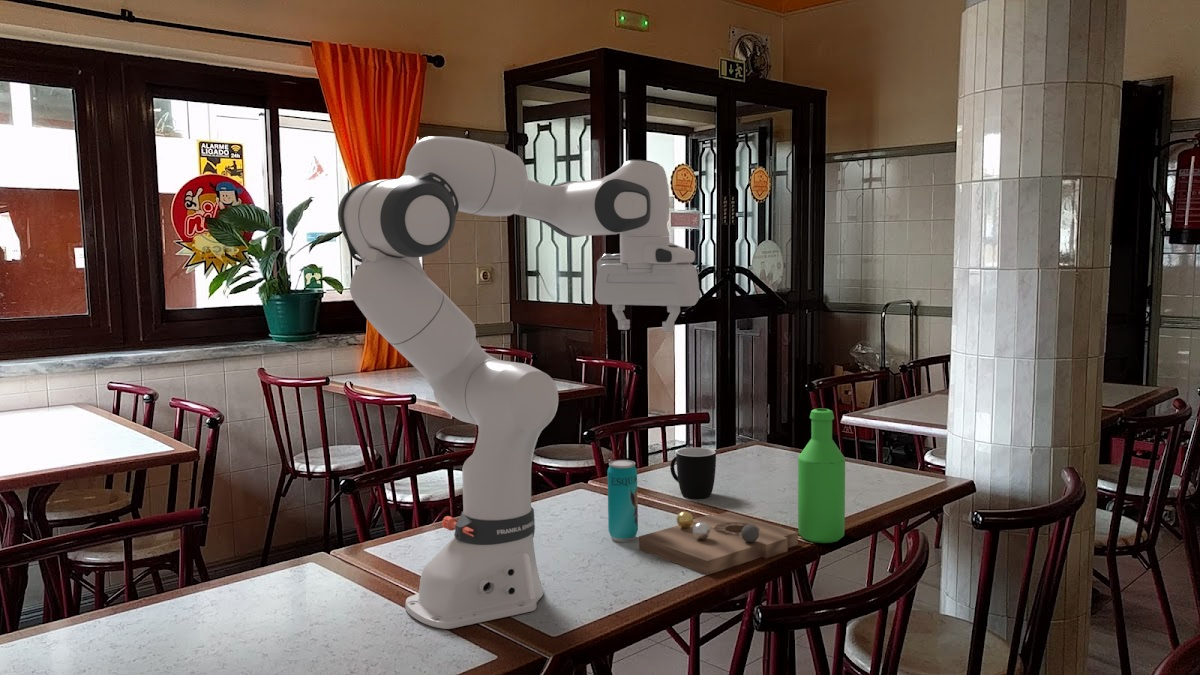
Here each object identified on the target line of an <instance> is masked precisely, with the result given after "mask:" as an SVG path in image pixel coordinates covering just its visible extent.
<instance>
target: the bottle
mask: <svg viewBox="0 0 1200 675" xmlns="http://www.w3.org/2000/svg"><path fill="white" fill-rule="evenodd" d="M809 419H810V420H811V423H810V424H811V431H810V432H811V434H810V435H811V438H810V439H809V441H808V442H807V444H806V445H805V447H804V448H803V450H802V451H801V453H800V454H799V455H798V458H797V459H798V460H797V462H798V464H797V465H798V470H797V472H798V473H797V475H798V476H797V479H798V480H797V488H798V490H797V492H798V493H797V494H798V496H797V499H798V500H797V501H798V502H797V506H798V508H797V509H798V510H797V511H798V514H797V516H798V518H797V520H798V521H797V524H798V525H797V527H798V530H797V532H798V535H800V536H801V537H802V538H803V539H804V540H806V541H808V542H812V543H817V544H830V543H831V544H832V543H836V542H839V541H840V540H841V539H842V538H843V537H845V529H846V528H845V524H846V522H845V521H846V520H845V519H846V517H845V513H846V512H845V511H846V509H845V508H846V506H845V505H846V458H845V456H844V454H843V453H842V452H841V450H840V449H839V447H838V446H837V444H836V443H835V441H834V440H833V420H834V419H835V415H834V412H833V410H830V409H829V408H814V409H812V410H811V412H810V414H809Z"/></svg>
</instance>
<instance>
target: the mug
mask: <svg viewBox="0 0 1200 675" xmlns="http://www.w3.org/2000/svg"><path fill="white" fill-rule="evenodd" d="M675 454H676V455H675V456H674V457H673V459H672V460H671V462H670V465H669V466H670V470H669V471H670V473H671V476H672V478H673V479H674V480H675V482H677V483H678V486H679V490H680V493H681V495H682V496H683V497H684V498H687V499H690V500H704V499H708V498H709V497H711V495H712V494H713V493H712V492H713V491H714V490H713V489H714V484H715V478H716V464H717V462H716V461H717V452H716V450H715V449H712V448H706V447H686V448H680V449H678V450H676V452H675ZM675 463H676V464H675ZM675 465H676V470H675ZM676 472H677V473H676Z"/></svg>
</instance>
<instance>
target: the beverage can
mask: <svg viewBox="0 0 1200 675" xmlns="http://www.w3.org/2000/svg"><path fill="white" fill-rule="evenodd" d="M608 466H609V467H608V468H607V471H606V472H607V518H608V519H607V520H608V521H607V522H608V527H607V528H608V532H609V536H610V538H611V539H612V540H613V541H615V542H618V543H619V542H620V543H628V542H631V541H634V539H636V536H637V535H638V534H637V533H638V530H639V519H638V518H639V516H638V515H639V513H638V511H639V509H638V508H639V506H638V505H639V504H638V500H639V499H638V469H637V467H636V462H635V461H634V460H629V459H617V460H611V461H609V463H608Z"/></svg>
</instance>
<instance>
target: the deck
mask: <svg viewBox="0 0 1200 675" xmlns="http://www.w3.org/2000/svg"><path fill="white" fill-rule="evenodd" d="M699 522H704V523H706V524H707V525H708V526H709V528H710V534H709V536H708V537H707V538H706V539H704V540H699V539H697V538H696V537H695V536H694V535H693V527H694V525H695V524H697V523H699ZM746 525H753V526H755V527H756V528H757V529H758V531H759V537H758V539H757V540H756V541H754V542H751V543H749V542H746V541H745V540H744V539H743V538H742V536H741V531H742V529H743V527H744V526H746ZM798 538H799V533H798V531H794V530H791V529H789V528H785V527H782V526H779V525H775V524H771V523H767V522H764V521H760V520H758V519H755V518H751V517H747V516H744V515H740V514H737V513H734V512H730V511H726V512H722V513H718V514H715V515H714V514H706V515H704V516H701V517H696V518H693V523H692V525H691V526H690V527H689V528H681V527H680V526H679V525H678V524H677V525H675V526H671V527H668V528H664V529H661V530H658V531H654V532H650V533H646V534H643V535H640V536H638V549H639V551H643V552H645V553H647V554H650V555H653V556H656V557H659V558H661V559H664V560H666V561H669V562H672V563H674V564H677V565H679V566H683V567H685V568H688V569H690V570H692V571H696V572H698V573H701V574H703V575H706V576H709V575H713V574H716V573H718V572H721V571H723V570H724V571H725V570H727V569H731V568H733V567H736V566H740V565H742V564H745V563H748V562H751V561H754V560H757V559H761V558H765V559H768V558H771V557H774V556H778V555H780V554H784V553H787V552H789V551H788V550H789V549H790V548H793V547H796V546H798V543H799V542H798V540H799V539H798Z"/></svg>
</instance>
